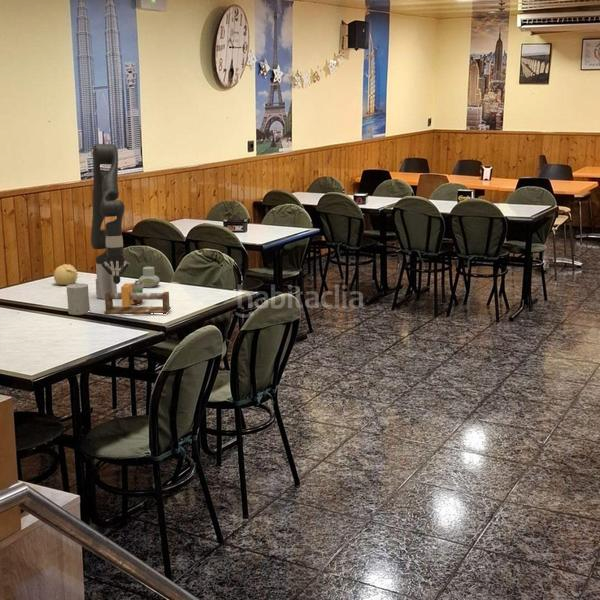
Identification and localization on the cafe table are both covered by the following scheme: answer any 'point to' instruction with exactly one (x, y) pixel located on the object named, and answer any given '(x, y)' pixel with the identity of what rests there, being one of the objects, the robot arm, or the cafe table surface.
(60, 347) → the cafe table surface
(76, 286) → the gray cylinder
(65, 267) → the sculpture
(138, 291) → the food container
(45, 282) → the cafe table surface
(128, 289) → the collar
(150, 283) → the air freshener
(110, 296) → the rod stand
